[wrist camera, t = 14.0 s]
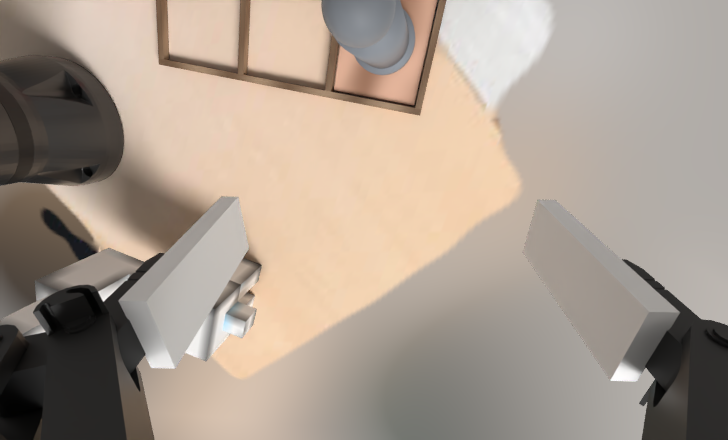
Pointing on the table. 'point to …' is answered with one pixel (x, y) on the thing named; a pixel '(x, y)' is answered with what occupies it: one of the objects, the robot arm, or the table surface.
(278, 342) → the table surface
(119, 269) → the toy llama
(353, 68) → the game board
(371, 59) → the pawn
